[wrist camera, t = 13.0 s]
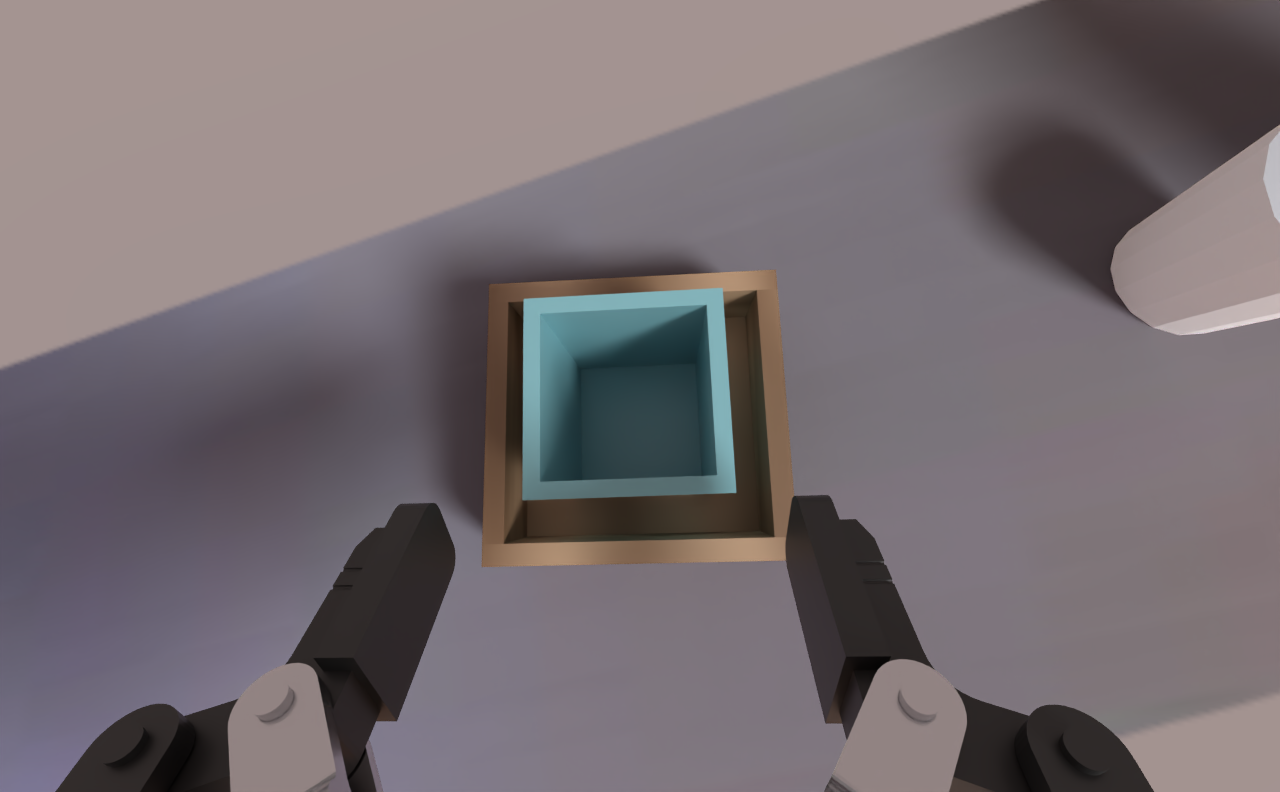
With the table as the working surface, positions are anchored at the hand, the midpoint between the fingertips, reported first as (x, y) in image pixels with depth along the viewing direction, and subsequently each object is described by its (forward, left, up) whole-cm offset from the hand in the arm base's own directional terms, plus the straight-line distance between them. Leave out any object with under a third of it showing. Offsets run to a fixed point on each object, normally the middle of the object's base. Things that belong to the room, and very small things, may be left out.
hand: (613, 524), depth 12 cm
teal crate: (0, -4, -11) cm, 11 cm away
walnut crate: (0, -4, -11) cm, 12 cm away
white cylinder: (-25, -10, -12) cm, 29 cm away
